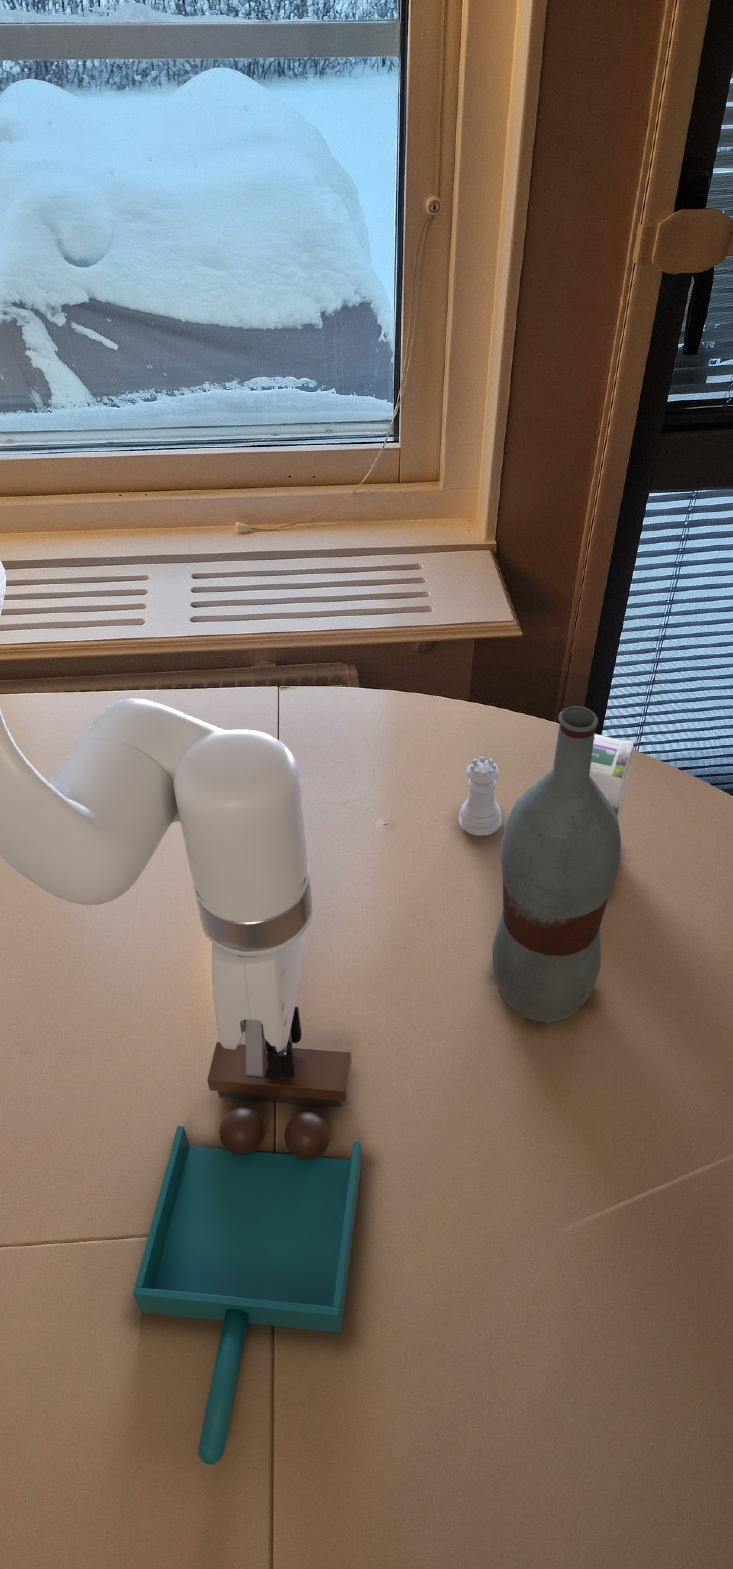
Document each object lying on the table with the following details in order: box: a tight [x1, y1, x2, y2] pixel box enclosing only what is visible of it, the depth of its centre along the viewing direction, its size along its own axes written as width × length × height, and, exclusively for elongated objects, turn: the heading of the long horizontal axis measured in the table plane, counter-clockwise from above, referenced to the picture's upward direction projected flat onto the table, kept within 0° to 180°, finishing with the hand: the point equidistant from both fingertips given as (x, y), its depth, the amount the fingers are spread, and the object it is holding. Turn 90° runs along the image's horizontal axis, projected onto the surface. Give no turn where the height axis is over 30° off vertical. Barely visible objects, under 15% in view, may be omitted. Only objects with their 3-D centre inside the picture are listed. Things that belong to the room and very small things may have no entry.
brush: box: [206, 1031, 353, 1108], centre depth 81 cm, size 11×4×10 cm, turn 84°
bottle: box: [491, 705, 622, 1023], centre depth 81 cm, size 9×9×30 cm
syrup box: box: [589, 733, 635, 824], centre depth 97 cm, size 6×6×14 cm
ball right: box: [284, 1111, 331, 1160], centre depth 79 cm, size 4×4×4 cm
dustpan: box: [132, 1125, 363, 1466], centre depth 71 cm, size 21×14×3 cm, turn 174°
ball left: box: [218, 1106, 266, 1155], centre depth 80 cm, size 4×4×4 cm
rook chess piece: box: [457, 755, 503, 837], centre depth 104 cm, size 4×4×8 cm
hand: (277, 1054), depth 81 cm, fingers closed on brush, 2 cm apart
